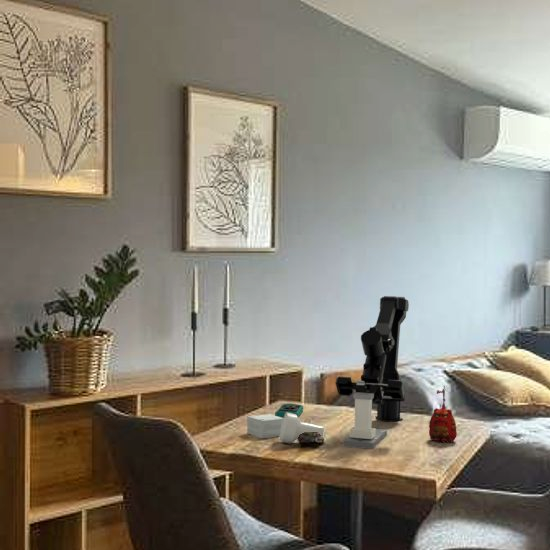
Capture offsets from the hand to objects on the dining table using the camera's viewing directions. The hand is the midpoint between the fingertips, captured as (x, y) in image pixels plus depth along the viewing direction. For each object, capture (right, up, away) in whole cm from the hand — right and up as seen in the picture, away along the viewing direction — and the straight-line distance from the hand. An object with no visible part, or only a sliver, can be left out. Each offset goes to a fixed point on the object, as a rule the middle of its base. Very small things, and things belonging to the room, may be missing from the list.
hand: (364, 412), depth 218 cm
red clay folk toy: (+22, -9, +4) cm, 24 cm away
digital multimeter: (-20, -8, +38) cm, 44 cm away
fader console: (+1, -8, +2) cm, 8 cm away
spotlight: (-18, -8, -2) cm, 20 cm away
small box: (-27, -8, +8) cm, 29 cm away
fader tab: (-1, -6, -2) cm, 6 cm away
